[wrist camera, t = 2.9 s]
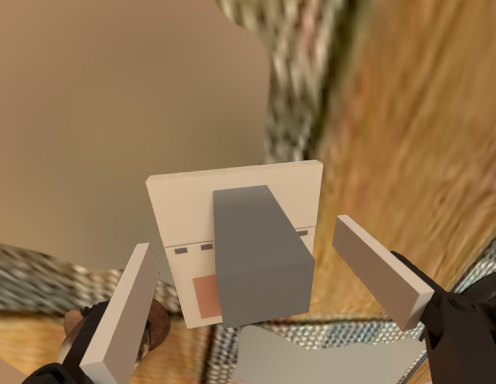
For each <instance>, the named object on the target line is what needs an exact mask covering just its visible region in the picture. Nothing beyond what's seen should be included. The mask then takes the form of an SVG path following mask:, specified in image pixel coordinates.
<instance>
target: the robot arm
mask: <svg viewBox="0 0 496 384" xmlns="http://www.w3.org/2000/svg"><path fill="white" fill-rule="evenodd" d="M332 246H333V247H334V249H335V250H336V251H337V252H338V253H339V255H340V256H341V257H342V258H343V260H344V261H345V262H346V263H347V264H348V266H349V267H350V268H351V269H352V270H353V272H354V273H355V274H356V275H357V277H358V278H359V279H360V280H361V281H362V283H363V284H364V285H365V286H366V287H367V289H368V290H369V291H370V292H371V294H372V295H373V296H374V297H375V298H376V300H377V301H378V302H379V303H380V304H381V306H382V307H383V308H384V309H385V311H386V312H387V313H388V314H389V315H390V317H391V318H392V319H393V320H394V322H395V323H396V324H397V325H398V326H399V328H400V329H401V330H402V331H405V330H410V329H414V328H416V326H417V325H418V323H419V321H421V322H422V323H423V324H424V325H425V327H424V329H423V331H422V333H421V335H420V337H419V341H421V342H422V340H423V339H424V337H425V342H426V348H427V354H428V360H429V366H430V371H431V377H432V383H433V384H496V273H493V274H491V275H489V276H487V277H485V278H483V279H481V280H480V281H478V282H477V283H475V284H474V285H473V286H471V287H470V288H469V289H467V290H466V291H465V292H464V293H463V294H462V295H459V294H457V293H452V292H446V291H445V290H444V289H443V288H441V287H440V286H439V285H438V284H437V283H435V282H434V281H433V280H432V279H430V278H429V277H428V276H427V275H426V274H424V273H423V272H422V271H421V270H418V268H417V267H416V266H415V265H413V264H412V263H411V262H410V261H409V260H407V259H406V258H405V257H404V256H402V255H400V254H398V253H397V252H395V251H388V250H387V249H386V248H384V247H383V246H382V245H381V244H380V243H379V242H378V241H376V240H375V239H374V238H373V237H372V236H371V235H369V234H368V233H367V232H366V231H365V230H364V229H363V228H361V227H360V226H359V225H358V224H357V223H356V222H354V221H353V220H352V219H351V218H350V217H349V216H347V215H340V216H337V218H336V224H335V230H334V236H333V242H332ZM158 277H159V271H158V267H157V264H156V261H155V258H154V255H153V252H152V248H151V245H150V243H143V244H137V246H136V248H135V250H134V252H133V254H132V256H131V258H130V260H129V263H128V265H127V267H126V269H125V271H124V273H123V275H122V277H121V279H120V281H119V283H118V286H117V288H116V290H115V292H114V294H113V296H112V298H111V300H110V301H106V302H100V303H98V304H97V305H96V306H95V308H94V309H93V310H92V311H91V312H90V313H89V315H88V317H87V318H86V320H85V322H84V324H83V327H82V328H81V329H80V331H79V333H78V336H77V337H76V339H75V340H74V342H73V344H72V346H71V348H70V350H69V351H68V353H67V355H66V357H65V359H64V361H63V362H62V364H60V363H50V364H47V365H44V366H43V367H41V368H39V369H38V370H36V371H35V372H33V373H32V374H31V375H30V376H29V377H27V378H26V379H25V380H24V382H23V383H22V384H130V380H131V376H132V373H133V369H134V365H135V362H136V358H137V354H138V351H139V347H140V343H141V340H142V336H143V332H144V329H145V325H146V321H147V318H148V314H149V310H150V307H151V303H152V299H153V296H154V292H155V288H156V285H157V281H158Z"/></svg>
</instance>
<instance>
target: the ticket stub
mask: <svg viewBox="0 0 496 384" xmlns="http://www.w3.org/2000/svg"><path fill="white" fill-rule="evenodd" d="M322 169H323V164H322V163H320V162H319V161H317V160H307V161H297V162H287V163H276V164H266V165H256V166H245V167H235V168H225V169H216V170H205V171H194V172H183V173H173V174H163V175H152V176H150V177H149V178H148V179H147V181H146V185H147V189H148V192H149V196H150V199H151V203H152V206H153V210H154V213H155V217H156V220H157V224H158V228H159V231H160V235H161V238H162V241H163V245H164V247H168V246H175V245H182V244H189V243H196V242H203V241H210V240H215V273H216V282H217V289H218V295H219V302H220V308H221V314H222V321H223V327H224V329H225V328H231V327H236V326H241V325H246V324H251V323H256V322H261V321H266V320H271V319H276V318H281V317H286V316H291V315H296V314H301V313H307V312H309V306H310V297H311V289H312V281H313V273H314V265H315V260H314V258H313V256H312V255H311V253H310V252H309V250H308V249H307V247H306V246H305V244H304V242H303V241H302V239H301V238H300V236H299V235H298V233H297V231H296V230H295V229H296V228H303V227H310V226H316V221H317V213H318V204H319V195H320V186H321V178H322Z"/></svg>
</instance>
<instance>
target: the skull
mask: <svg viewBox="0 0 496 384" xmlns="http://www.w3.org/2000/svg"><path fill="white" fill-rule="evenodd" d="M95 306H96V305H93V307H92V308H90V309H89V307H87V308H86V306H85V309H84V314H83V313H82V312H81V309H80V307H79V309H78V310H75V309H73V310H72V311H70V312H67V313H66V315H65V318H64V330H65V334H66V336H67V337H66V338H65V340H64V342H63V343H62V345H61V347H60V350H59V354H58V363H60V364H62V362H63V361H64V359H65V357H66V355H67V353H68V351H69V350H70V348H71V346H72V344H73V342H74V340H75V339H76V337H77V336H78V333H79V331H80V329H81V328H82V327H83V324H84V322H85V320H86V318H87V317H88V315H89V313H90V312H91V311H92V310H93V308H95ZM166 312H167V311H166V310H165V309H164V308H163V306H161V304H159V303H158V302H157V301H155V299H154V300H153V299H152V303H151V307H150V310H149V314H148V318H147V321H146V325H145V329H144V332H143V336H142V340H141V343H140V347H139V351H138V354H137V358H136V362H135V365H134V369H133V372H134V371H135V370H136V369H137V368H138V366H139V365H140V362H141V358H143V357H144V356H145V355H146V354H147V352H149V351H151V350H153V349H154V348H156V347H157V346H159V345H160V344H161V343H162V342H163V341H164V340H165V338H166V337H167V334H168V332H169V329H170V320H169V319H170V318H169V317H168V314H167V313H166Z"/></svg>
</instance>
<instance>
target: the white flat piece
mask: <svg viewBox="0 0 496 384" xmlns="http://www.w3.org/2000/svg"><path fill="white" fill-rule="evenodd" d="M295 230H296V231H297V233H298V235H299V236H300V238H301V239H302V241H303V242H304V244H305V246H306V247H307V249H308V250H309V252H310V253H311V255H312V253H313V244H314V235H315V226H310V227H303V228H296V229H295ZM165 251H166V254H167V258H168V262H169V265H170V269H171V273H172V276H173V280H174V283H175V287H176V291H177V294H178V298H179V301H180V305H181V308H182V312H183V316H184V319H185V323H186V326H187V329H190V328H195V327H200V326H205V325H210V324H215V323H221V322H223V321H222V314H221V308H220V302H219V295H218V289H217V282H216V273H215V240H210V241H203V242H196V243H189V244H182V245H175V246H168V247H165Z"/></svg>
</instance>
